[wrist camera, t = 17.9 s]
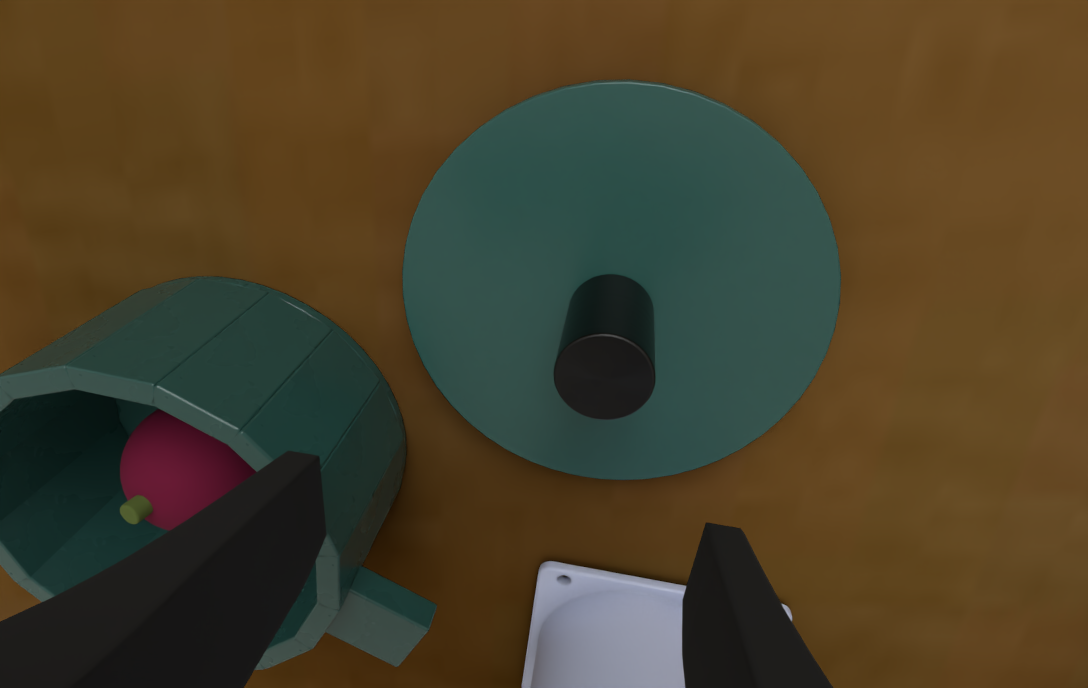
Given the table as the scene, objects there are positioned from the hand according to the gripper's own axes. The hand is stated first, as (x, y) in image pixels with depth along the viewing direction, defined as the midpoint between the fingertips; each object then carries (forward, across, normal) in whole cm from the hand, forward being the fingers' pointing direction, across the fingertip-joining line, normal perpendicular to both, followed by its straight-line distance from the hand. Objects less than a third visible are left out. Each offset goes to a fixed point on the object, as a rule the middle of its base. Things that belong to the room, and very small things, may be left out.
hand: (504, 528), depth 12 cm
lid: (+8, -2, -1) cm, 8 cm away
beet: (+6, +11, +6) cm, 14 cm away
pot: (+9, +10, +6) cm, 15 cm away
